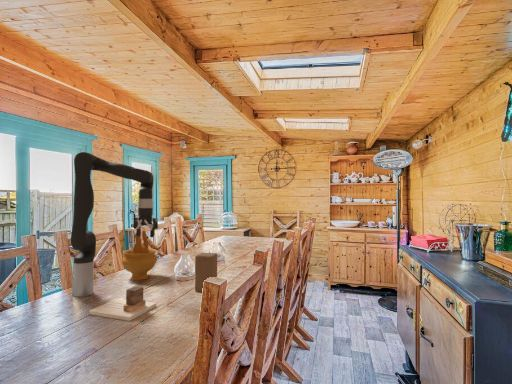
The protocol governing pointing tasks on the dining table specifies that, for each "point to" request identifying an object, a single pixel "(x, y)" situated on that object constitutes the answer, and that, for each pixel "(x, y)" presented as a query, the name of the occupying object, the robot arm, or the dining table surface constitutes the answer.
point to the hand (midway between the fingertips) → (145, 236)
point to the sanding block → (134, 299)
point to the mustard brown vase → (139, 258)
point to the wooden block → (204, 268)
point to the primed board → (120, 310)
